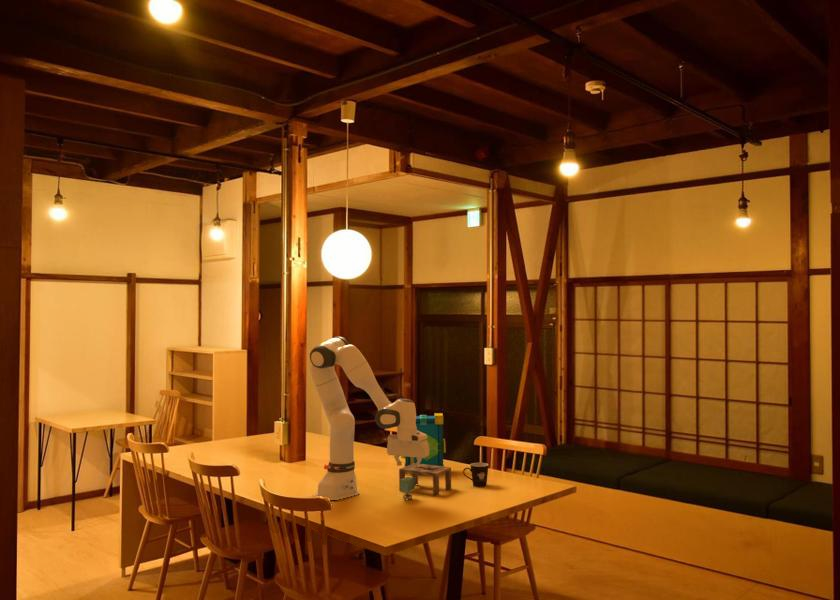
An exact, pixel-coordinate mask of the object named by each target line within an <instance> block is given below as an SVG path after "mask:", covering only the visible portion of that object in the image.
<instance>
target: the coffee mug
mask: <svg viewBox="0 0 840 600" xmlns="http://www.w3.org/2000/svg"><path fill="white" fill-rule="evenodd" d="M466 470H469V471H470V473H471V477H469V476H468V475H466V474H465V471H466ZM488 472H489V463H487V462H486V463H485V462H472V463H470V467H465V468H463V470H462V474H463V475H464V477H466V478H467V479H469V480H471V481H472V486H473V487H475V488H485V487H487V485H488V483H487V482H488V475H489V473H488Z"/></svg>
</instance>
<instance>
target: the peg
mask: <svg viewBox="0 0 840 600" xmlns="http://www.w3.org/2000/svg"><path fill="white" fill-rule="evenodd" d="M415 486H416V485H415V478H412V477H410V476H405V478H403V479H401V480H400V492H405V494H403V495H402V500H403V499H412V500H413V495H412V494H411V493H410V492H411V491H414V490H416V489H415V488H416V487H415Z"/></svg>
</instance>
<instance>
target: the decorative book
mask: <svg viewBox="0 0 840 600" xmlns="http://www.w3.org/2000/svg"><path fill="white" fill-rule="evenodd" d="M416 427H417V430H418V431H420V432H422V433H424V434H426V435H427V439H425V440H427V442H428V445H429V455H428V457H426V458H422V460H421V462H420V464H426V465H435V466H444V467H445V464H444V453H447V452H446V451H447V449H446V448H447V445H446V442H447V441H446V439H445V438H444V415H443V412H442V413H441V412H439V413H437V412H434V415H427V414H420V415H416ZM400 458H401V459H404V460H405V462H404V467H406V466H408V465H411V464H414V463H417V461H418V460H417V457H407V456H400ZM432 471H433V470H432ZM405 474H412V473H407V472H405ZM441 475H442V476H443V475H444V476H445V473H443V474H441Z"/></svg>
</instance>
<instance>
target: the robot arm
mask: <svg viewBox="0 0 840 600" xmlns="http://www.w3.org/2000/svg"><path fill="white" fill-rule="evenodd" d="M309 360H310V368H309V370H310V373H311V377H312V381H313V383H314V386H315V389H316V392H317V395H318V397H319V399H320V402H321V404H322V408H323V410H324V412H325V416H326V418H327V421H328V423H329V426H330V434H329V461H328V464H324V466H323V469H324V470H326V473H325V474H324V476H322V478H321V480H320V481H319V482H318V485H317V492H315V493H313V494H312V496H313V497H315V496H322V497H327V498H329V499H330V500H338V501H340V500H339V499H341V500H344V499H343V498H345V499H347V497H348V498H351V496H352V497H355V496H358V494H359V495H360V491H359V490H358V482H357V481H358V480H357V475H356V473H355V469H356V462H355V459H354V456H355V455H354V452H355V451H354V447H355V446H354V442H355V428H356V427H355V424H356V421H355V416H354V415H353V413H352V412H351V410H350V407H349V405H348V403H347V402H348V401H347V399H346V396H345V394H344V393H345V392H344V390H343V387H342V385H341V382H340V380H339V378H338V375H337V373H336V370H335V365H338V366H340V367H341V369H343V372H344V374H345V375H346V377H347V379H348V380H349V381H350V382H351V383H352V384H353V386H355V388H358V389H359V388H360V389H361V390H364V392H365V393H367V394H368V396H369V397H370V399H371V400H372V401H373V403H374V405H375V406H376V408H377V410H378V411H377V412H376V414H375V417H374V420H375V423H376V425H377V427H378V428H381V429H385V430H388V429H392V428H396V430H397V431H396V434H393V433H391V434H388V436H387V438H386V439H387V446H386V453H387V455H388V456H393V457H394V459H395V461H396V466H398V467H401V466H402V464H403V463H402V461H401V460H400V457H401V456H407V457H417V460H418V461H417V463H415V467H420V462H421V460H422V458H426V457H428V455H429V445H428V442H427V440H425V439H427V435H426V434H424V433H422V432H420V431H418V430H417V427H416V416H417V410H416V405H415V402H414V401H413V400H412V399H409V398H404V397H403V398H397V399H396V400H395V401H394V402H392V401H391V400H390V399H389V398H388V396H387V395H386V393H385V392H384V390H383V388H381V386H380V385H379V383H378V381H377V379H376V377H375V374H374V372H373V370H372V367H371V366H370V364H369V362H368V361H367V359H366V358H365V356H364V355H363V354H362V352H361V351H360V350H359V349H358V347H356V346H355V344H350V343H349V341H348V340H347V339H346V338H345V337H343V336H334V337H331V338H329V339H326V340H324V341H323V342H322V343H320V344H318V345H316V346H314V347H313V348H312V349H311V351H310V353H309ZM354 495H355V496H354Z"/></svg>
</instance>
